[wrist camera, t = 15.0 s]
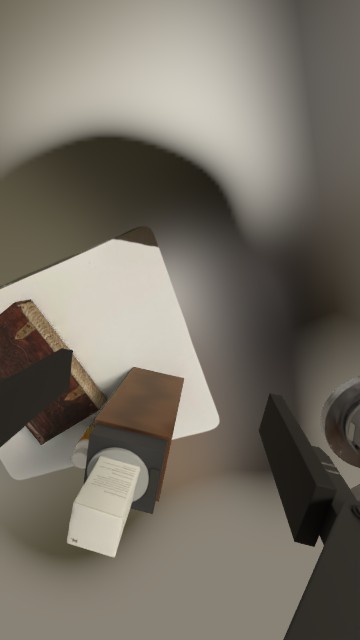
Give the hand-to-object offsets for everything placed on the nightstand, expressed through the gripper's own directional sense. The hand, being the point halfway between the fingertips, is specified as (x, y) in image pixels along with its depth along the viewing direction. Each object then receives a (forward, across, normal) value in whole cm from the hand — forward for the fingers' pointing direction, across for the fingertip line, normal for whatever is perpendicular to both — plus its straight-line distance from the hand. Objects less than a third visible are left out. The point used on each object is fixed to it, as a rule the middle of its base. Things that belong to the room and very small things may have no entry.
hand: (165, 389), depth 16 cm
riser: (+37, -5, -23) cm, 43 cm away
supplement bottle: (+37, -17, -36) cm, 54 cm away
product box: (+14, -6, -23) cm, 27 cm away
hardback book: (+37, -33, -23) cm, 54 cm away
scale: (+17, -5, -23) cm, 29 cm away
